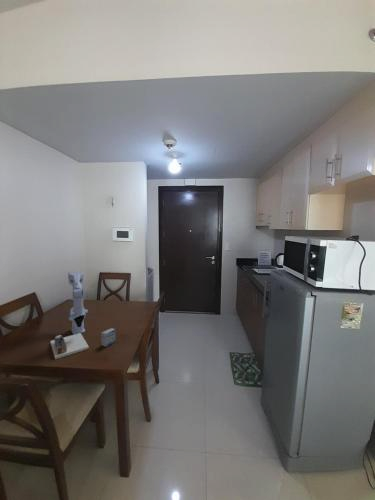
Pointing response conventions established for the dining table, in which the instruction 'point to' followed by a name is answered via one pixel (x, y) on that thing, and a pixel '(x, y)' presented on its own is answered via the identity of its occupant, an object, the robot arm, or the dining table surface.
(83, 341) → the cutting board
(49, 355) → the dining table surface
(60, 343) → the tongs arm
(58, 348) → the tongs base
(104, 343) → the medicine box
